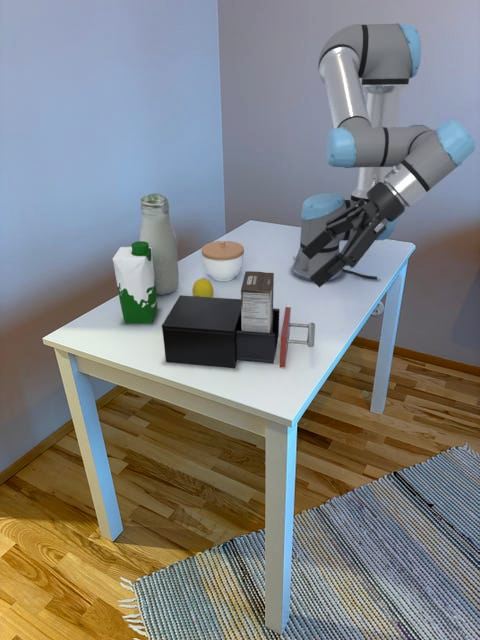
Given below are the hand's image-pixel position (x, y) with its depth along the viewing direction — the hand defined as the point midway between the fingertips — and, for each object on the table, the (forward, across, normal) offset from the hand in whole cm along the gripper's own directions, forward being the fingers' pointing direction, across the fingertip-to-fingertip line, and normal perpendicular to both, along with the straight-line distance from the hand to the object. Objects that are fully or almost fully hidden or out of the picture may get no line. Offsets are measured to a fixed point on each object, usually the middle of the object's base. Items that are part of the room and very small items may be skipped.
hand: (309, 268), depth 96 cm
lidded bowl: (+29, -41, +1) cm, 50 cm away
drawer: (+20, +1, +8) cm, 21 cm away
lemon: (+32, -23, -2) cm, 39 cm away
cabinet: (+30, -2, -1) cm, 30 cm away
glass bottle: (+41, -31, -11) cm, 52 cm away
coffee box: (+21, 0, +6) cm, 22 cm away
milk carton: (+43, -17, -14) cm, 48 cm away
